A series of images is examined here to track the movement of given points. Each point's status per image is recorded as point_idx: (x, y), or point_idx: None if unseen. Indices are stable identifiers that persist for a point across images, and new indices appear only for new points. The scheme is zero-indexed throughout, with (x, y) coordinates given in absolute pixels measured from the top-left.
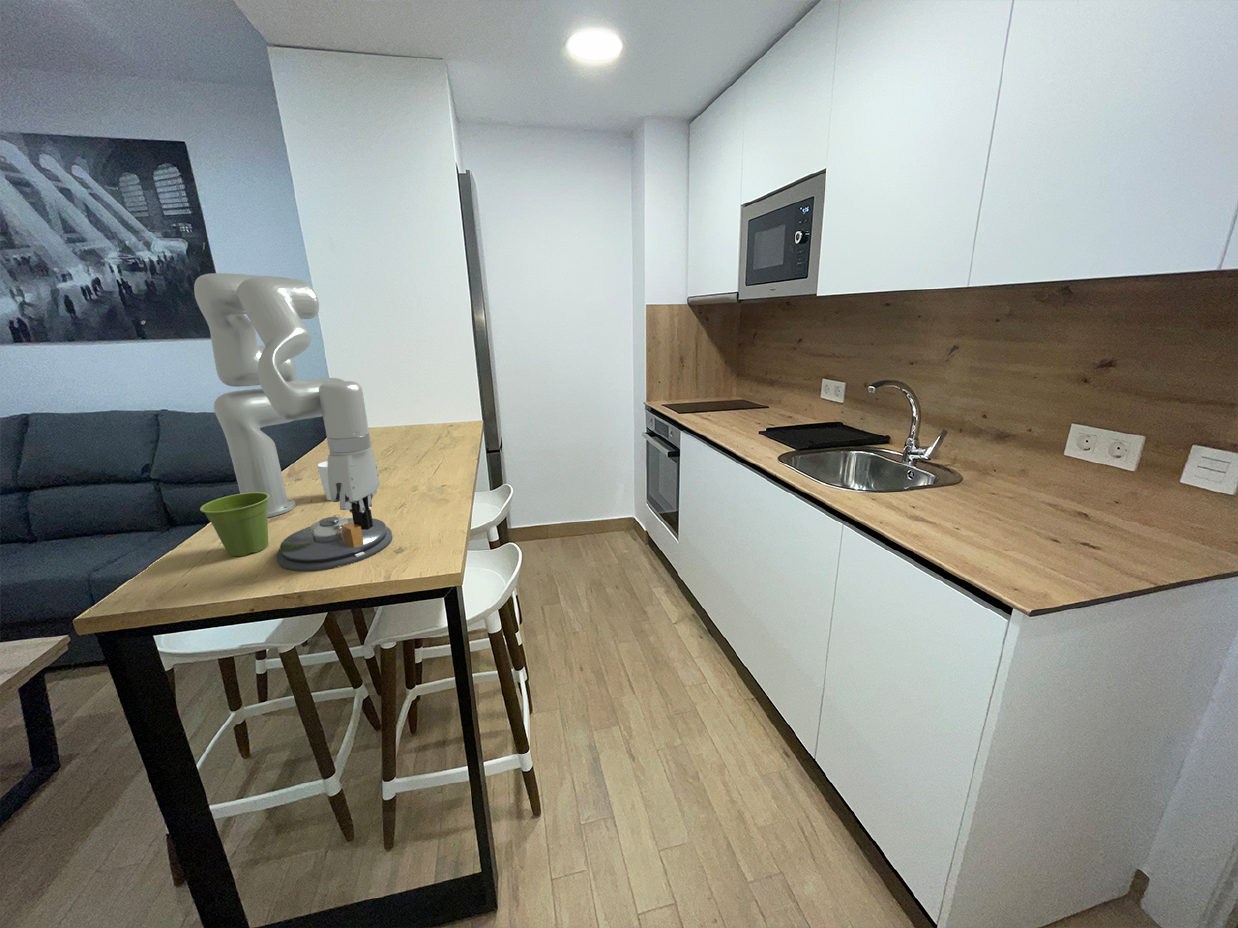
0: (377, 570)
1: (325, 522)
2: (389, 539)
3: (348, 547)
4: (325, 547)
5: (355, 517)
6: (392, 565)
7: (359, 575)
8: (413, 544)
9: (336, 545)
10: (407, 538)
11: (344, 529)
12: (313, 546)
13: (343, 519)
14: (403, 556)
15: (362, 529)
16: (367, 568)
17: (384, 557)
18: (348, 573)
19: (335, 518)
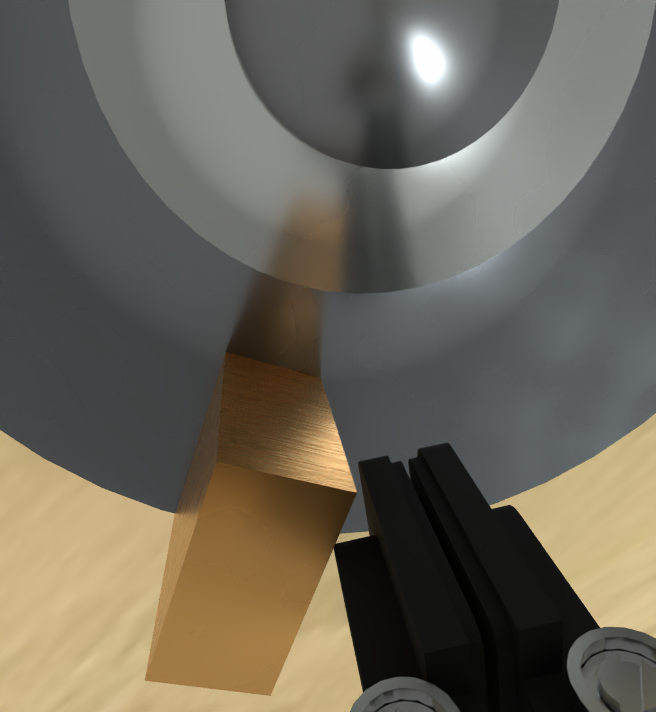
0: (119, 667)
1: (271, 35)
2: None
3: (156, 471)
4: (64, 244)
5: (358, 656)
6: (204, 690)
7: (19, 629)
8: None
9: (150, 322)
10: (577, 509)
11: (197, 504)
12: (19, 60)
13: (566, 115)
14: (325, 663)
15: (369, 531)
16: (115, 602)
17: None
18: (5, 552)
19: (483, 68)
